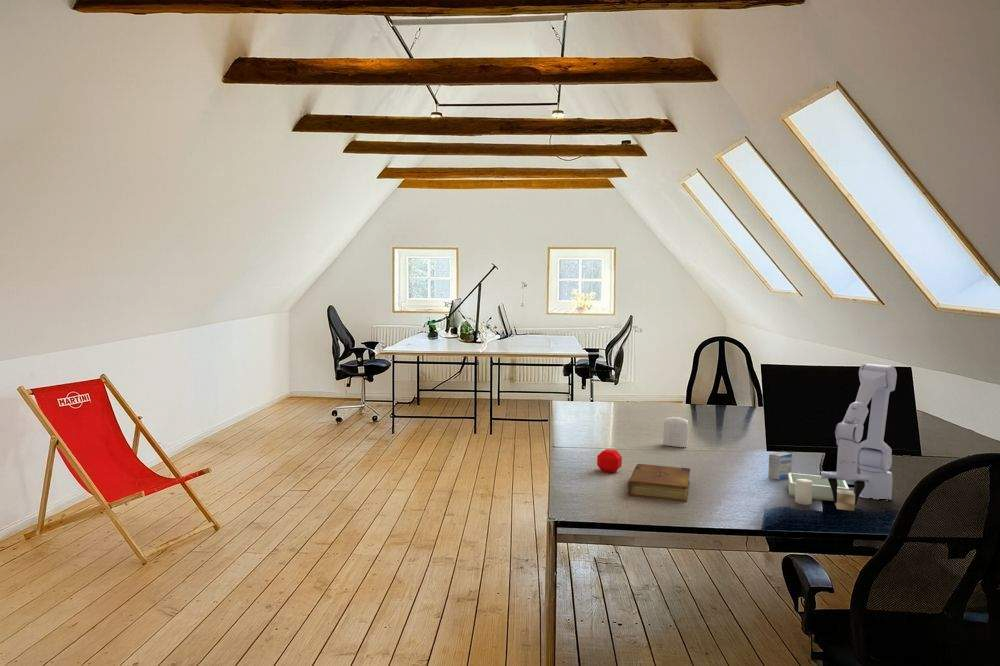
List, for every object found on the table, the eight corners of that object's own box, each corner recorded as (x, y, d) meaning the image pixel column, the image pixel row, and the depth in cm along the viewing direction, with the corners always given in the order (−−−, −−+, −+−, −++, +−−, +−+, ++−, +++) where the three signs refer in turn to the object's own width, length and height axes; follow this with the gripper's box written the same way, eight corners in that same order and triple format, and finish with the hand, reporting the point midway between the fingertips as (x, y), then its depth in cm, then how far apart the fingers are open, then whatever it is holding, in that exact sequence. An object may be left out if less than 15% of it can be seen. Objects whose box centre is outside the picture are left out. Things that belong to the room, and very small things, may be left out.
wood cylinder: (811, 500, 238) (812, 479, 237) (812, 505, 233) (813, 483, 233) (794, 499, 239) (795, 478, 239) (795, 503, 235) (796, 482, 234)
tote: (843, 491, 250) (843, 478, 249) (848, 502, 237) (849, 488, 237) (787, 485, 255) (788, 472, 255) (789, 496, 242) (790, 482, 242)
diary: (635, 479, 261) (635, 463, 261) (689, 484, 256) (690, 468, 256) (627, 497, 239) (628, 479, 239) (686, 503, 234) (687, 485, 234)
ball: (623, 470, 271) (624, 450, 270) (615, 475, 264) (615, 454, 263) (603, 467, 275) (603, 447, 274) (594, 472, 268) (595, 451, 267)
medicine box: (778, 480, 262) (780, 456, 261) (767, 477, 265) (768, 453, 264) (791, 477, 266) (792, 453, 265) (780, 474, 270) (781, 451, 269)
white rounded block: (688, 446, 311) (689, 417, 310) (686, 448, 307) (688, 419, 306) (664, 443, 315) (665, 415, 314) (662, 445, 311) (663, 417, 310)
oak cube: (852, 506, 233) (853, 490, 233) (854, 510, 228) (855, 495, 228) (834, 504, 235) (835, 489, 234) (836, 509, 230) (837, 493, 230)
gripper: (823, 461, 229) (820, 504, 230) (875, 466, 224) (872, 509, 225) (821, 456, 236) (818, 497, 237) (871, 460, 231) (868, 503, 232)
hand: (844, 503), depth 231 cm, fingers closed on oak cube, 5 cm apart
